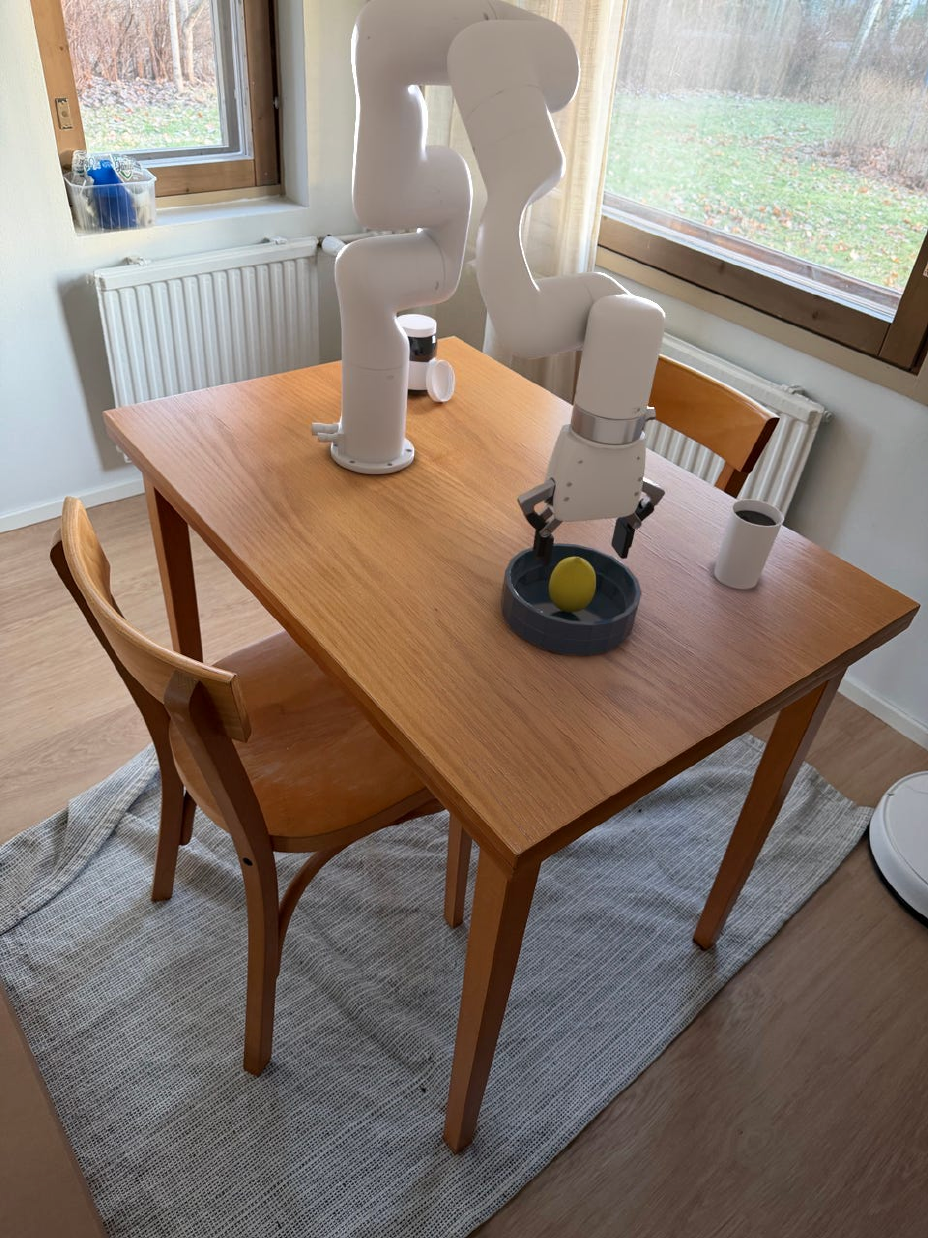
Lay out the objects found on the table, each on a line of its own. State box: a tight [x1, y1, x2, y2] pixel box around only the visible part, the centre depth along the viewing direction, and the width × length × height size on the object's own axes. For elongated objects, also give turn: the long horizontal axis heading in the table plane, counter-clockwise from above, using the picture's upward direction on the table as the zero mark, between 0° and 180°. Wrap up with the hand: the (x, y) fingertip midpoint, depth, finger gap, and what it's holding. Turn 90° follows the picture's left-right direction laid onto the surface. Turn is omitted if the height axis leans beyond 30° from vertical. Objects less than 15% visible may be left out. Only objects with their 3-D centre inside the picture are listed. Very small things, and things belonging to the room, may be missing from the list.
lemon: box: [549, 557, 596, 613], centre depth 107 cm, size 6×6×8 cm
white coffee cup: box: [713, 498, 785, 590], centre depth 117 cm, size 7×7×10 cm
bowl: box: [500, 542, 643, 657], centre depth 109 cm, size 16×16×5 cm
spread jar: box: [397, 313, 456, 403], centre depth 152 cm, size 12×11×12 cm
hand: (580, 556), depth 104 cm, fingers open, 9 cm apart
